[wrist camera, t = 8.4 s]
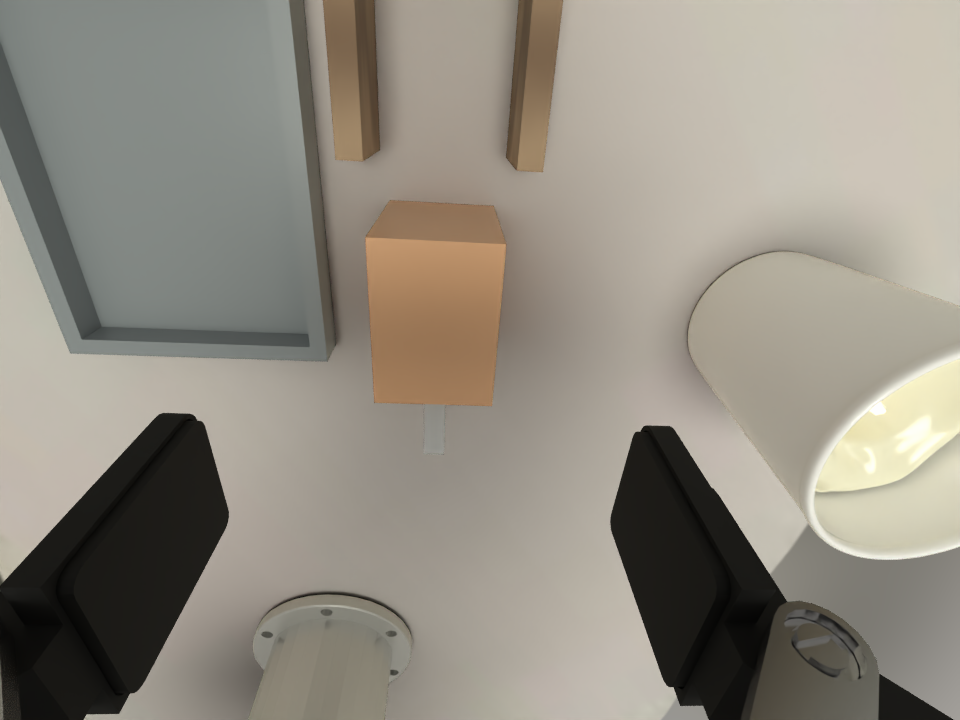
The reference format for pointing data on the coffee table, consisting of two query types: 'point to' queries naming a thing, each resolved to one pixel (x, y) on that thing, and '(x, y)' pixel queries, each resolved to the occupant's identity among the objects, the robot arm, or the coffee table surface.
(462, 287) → the peach slab with tab
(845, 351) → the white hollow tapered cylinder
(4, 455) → the coffee table surface
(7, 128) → the tray
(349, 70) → the frame
